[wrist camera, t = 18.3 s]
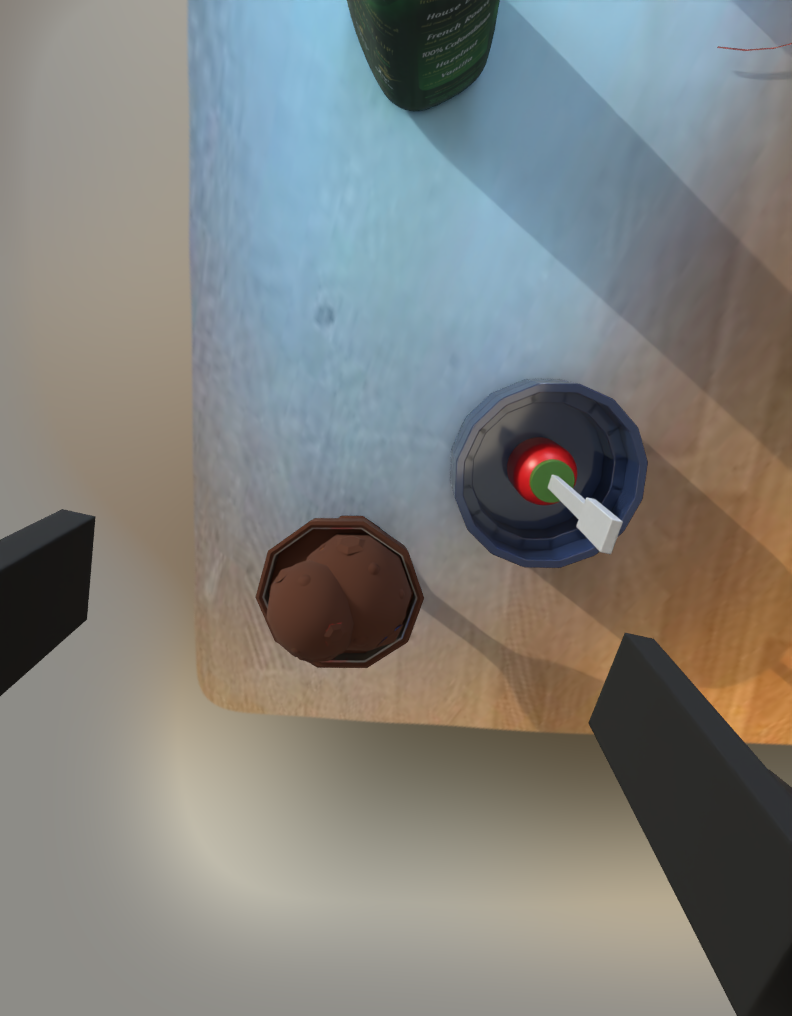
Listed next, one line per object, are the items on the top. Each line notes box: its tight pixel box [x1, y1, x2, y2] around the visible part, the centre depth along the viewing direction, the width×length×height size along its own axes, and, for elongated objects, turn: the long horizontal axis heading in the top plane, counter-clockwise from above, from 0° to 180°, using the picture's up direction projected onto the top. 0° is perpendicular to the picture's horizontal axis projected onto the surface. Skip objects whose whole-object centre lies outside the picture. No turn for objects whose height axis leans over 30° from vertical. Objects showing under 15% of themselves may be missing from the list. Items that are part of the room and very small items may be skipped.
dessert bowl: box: [450, 379, 648, 568], centre depth 40 cm, size 13×13×5 cm
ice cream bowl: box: [256, 516, 424, 668], centre depth 38 cm, size 11×11×15 cm
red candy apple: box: [507, 437, 623, 554], centre depth 34 cm, size 5×5×16 cm
